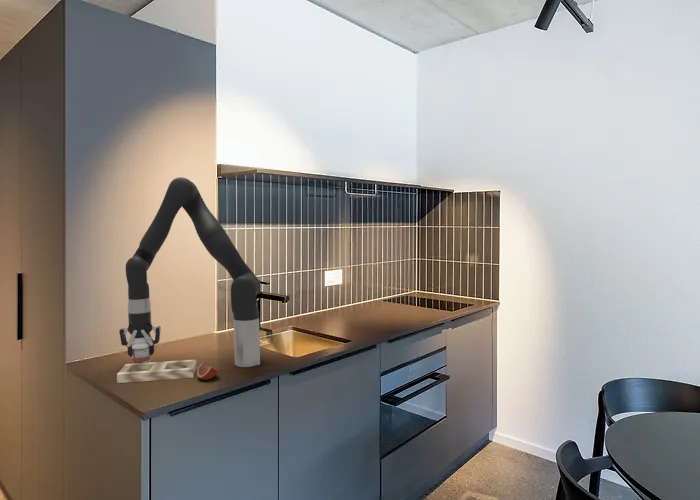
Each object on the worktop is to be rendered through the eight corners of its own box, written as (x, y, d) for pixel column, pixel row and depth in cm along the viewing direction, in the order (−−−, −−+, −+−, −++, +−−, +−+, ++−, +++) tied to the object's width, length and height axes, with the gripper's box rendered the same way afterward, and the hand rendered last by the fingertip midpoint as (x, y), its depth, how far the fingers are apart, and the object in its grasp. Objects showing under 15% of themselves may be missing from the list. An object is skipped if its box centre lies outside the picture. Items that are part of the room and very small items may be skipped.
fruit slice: (193, 377, 160) (193, 363, 160) (212, 373, 164) (212, 359, 164) (203, 384, 154) (202, 369, 153) (222, 379, 158) (221, 365, 157)
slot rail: (196, 367, 170) (196, 359, 170) (193, 377, 159) (192, 369, 159) (126, 372, 165) (125, 364, 165) (117, 383, 155) (116, 374, 154)
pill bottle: (136, 364, 174) (134, 335, 173) (153, 363, 175) (152, 334, 174) (129, 369, 168) (128, 339, 167) (147, 369, 169) (146, 338, 168)
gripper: (162, 307, 175) (164, 351, 176) (121, 309, 172) (123, 353, 173) (158, 311, 168) (160, 357, 169) (115, 313, 165) (117, 360, 166)
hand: (141, 355), depth 171 cm, fingers closed on pill bottle, 6 cm apart
